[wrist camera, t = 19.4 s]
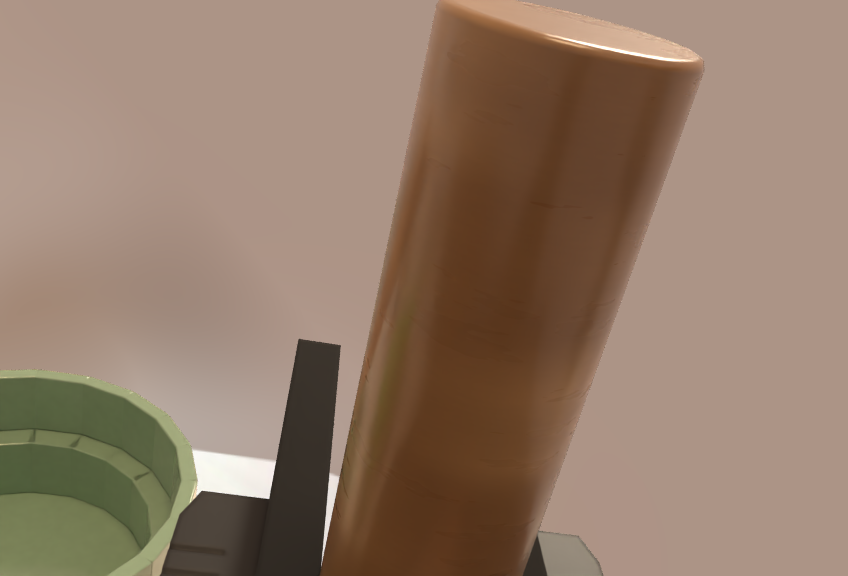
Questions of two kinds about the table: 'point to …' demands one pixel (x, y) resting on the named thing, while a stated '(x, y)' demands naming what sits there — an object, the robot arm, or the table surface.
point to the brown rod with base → (501, 280)
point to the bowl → (87, 477)
